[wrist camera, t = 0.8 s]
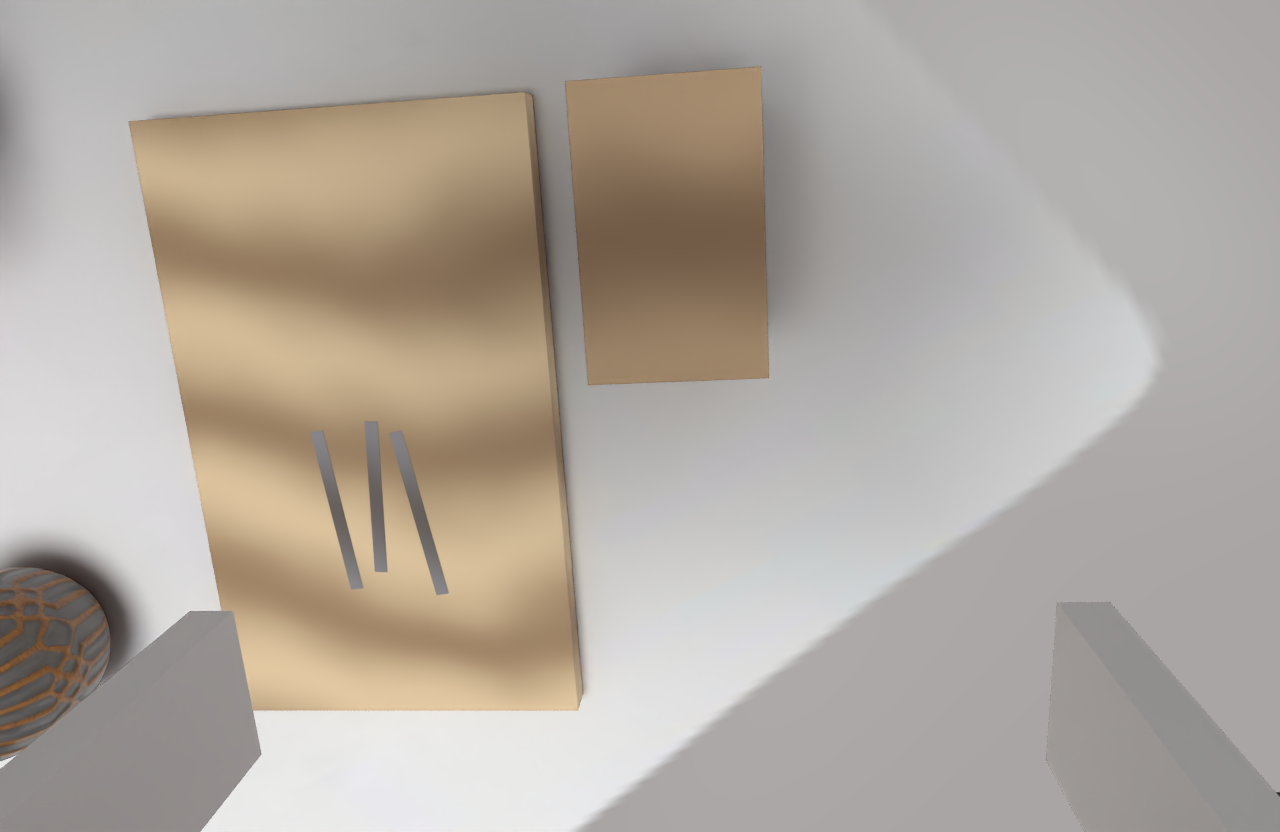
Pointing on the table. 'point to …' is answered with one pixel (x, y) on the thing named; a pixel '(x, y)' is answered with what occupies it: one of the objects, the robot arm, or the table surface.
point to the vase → (46, 652)
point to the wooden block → (671, 225)
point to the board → (372, 398)
